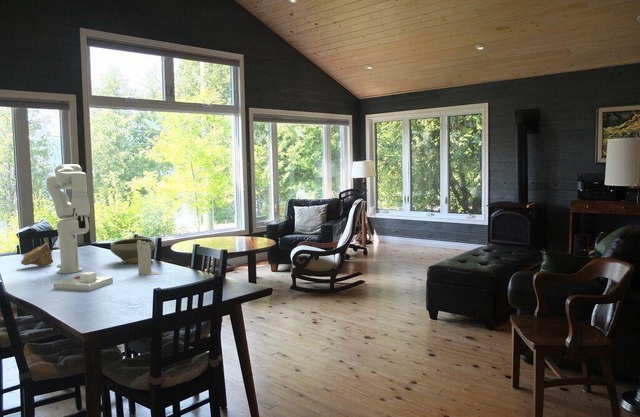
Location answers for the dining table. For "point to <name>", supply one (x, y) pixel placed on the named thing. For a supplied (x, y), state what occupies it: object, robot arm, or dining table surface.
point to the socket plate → (82, 284)
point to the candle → (144, 258)
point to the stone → (38, 256)
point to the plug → (88, 277)
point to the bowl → (129, 249)
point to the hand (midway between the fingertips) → (82, 228)
